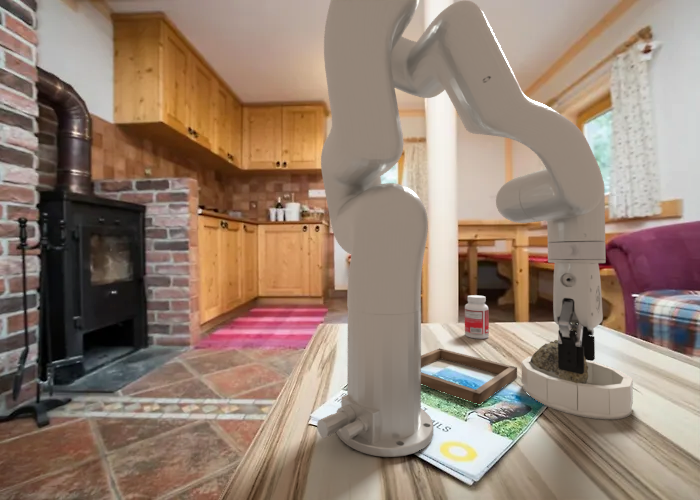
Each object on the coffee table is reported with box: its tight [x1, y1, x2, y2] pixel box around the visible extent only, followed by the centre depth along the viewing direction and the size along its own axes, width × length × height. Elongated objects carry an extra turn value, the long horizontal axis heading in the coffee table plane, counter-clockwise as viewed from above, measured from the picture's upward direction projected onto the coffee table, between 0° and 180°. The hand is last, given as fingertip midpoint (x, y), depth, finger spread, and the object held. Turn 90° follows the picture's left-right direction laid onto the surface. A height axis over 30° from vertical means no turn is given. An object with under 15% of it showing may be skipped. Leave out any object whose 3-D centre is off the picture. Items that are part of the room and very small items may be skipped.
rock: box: [530, 339, 588, 384], centre depth 51 cm, size 7×8×4 cm
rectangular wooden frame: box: [421, 348, 518, 405], centre depth 59 cm, size 16×16×2 cm
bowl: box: [521, 355, 634, 421], centre depth 50 cm, size 14×14×4 cm
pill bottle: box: [464, 294, 490, 340], centre depth 87 cm, size 6×6×11 cm
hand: (577, 363), depth 50 cm, fingers closed on rock, 7 cm apart
